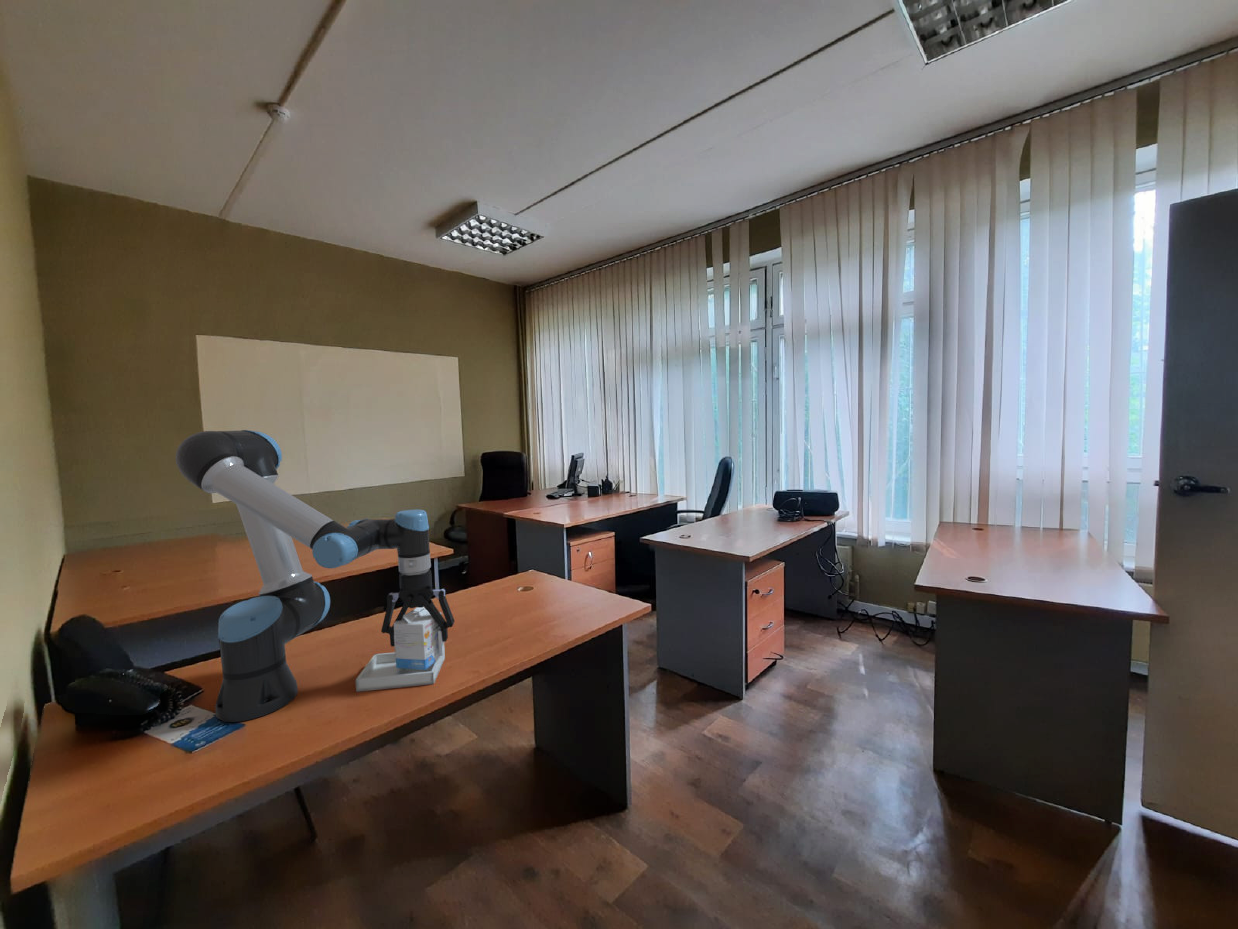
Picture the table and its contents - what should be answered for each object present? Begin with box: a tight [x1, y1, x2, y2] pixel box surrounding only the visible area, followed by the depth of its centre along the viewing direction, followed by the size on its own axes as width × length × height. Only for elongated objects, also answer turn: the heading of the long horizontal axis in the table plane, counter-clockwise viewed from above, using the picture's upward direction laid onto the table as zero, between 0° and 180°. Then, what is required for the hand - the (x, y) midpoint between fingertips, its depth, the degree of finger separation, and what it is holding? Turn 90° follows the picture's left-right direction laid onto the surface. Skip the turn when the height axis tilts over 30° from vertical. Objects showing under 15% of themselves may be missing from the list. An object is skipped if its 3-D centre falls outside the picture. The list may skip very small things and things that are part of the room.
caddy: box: [355, 651, 446, 693], centre depth 122 cm, size 18×13×3 cm
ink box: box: [393, 607, 444, 670], centre depth 122 cm, size 9×8×13 cm
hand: (420, 655), depth 122 cm, fingers closed on ink box, 10 cm apart
